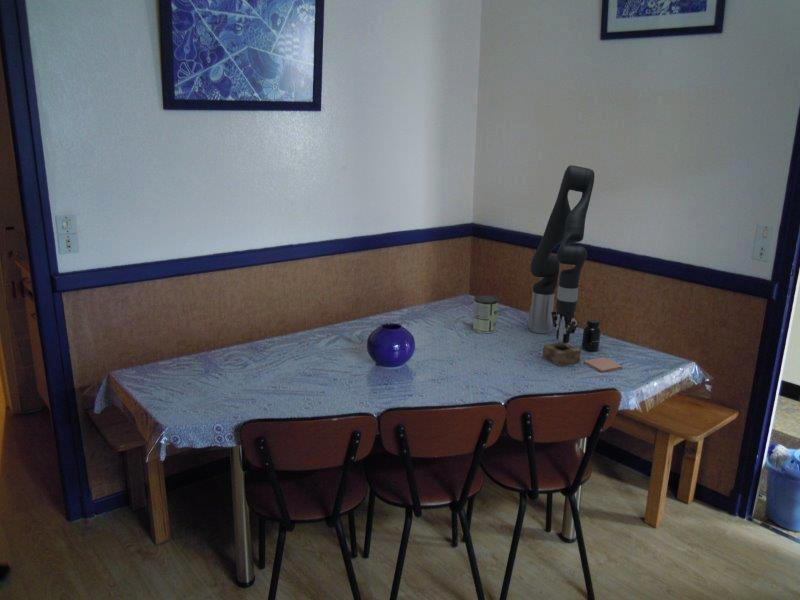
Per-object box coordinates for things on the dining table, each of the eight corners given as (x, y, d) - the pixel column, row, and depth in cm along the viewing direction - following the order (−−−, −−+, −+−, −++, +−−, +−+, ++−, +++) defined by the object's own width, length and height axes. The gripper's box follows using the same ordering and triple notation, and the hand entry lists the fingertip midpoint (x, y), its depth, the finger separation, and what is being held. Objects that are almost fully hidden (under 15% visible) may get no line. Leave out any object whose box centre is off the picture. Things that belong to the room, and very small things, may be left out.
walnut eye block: (542, 357, 268) (543, 345, 266) (562, 353, 272) (563, 341, 271) (558, 366, 259) (560, 354, 258) (579, 362, 264) (581, 350, 262)
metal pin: (554, 354, 266) (558, 316, 261) (561, 353, 267) (565, 315, 263) (559, 357, 263) (564, 319, 259) (566, 356, 265) (571, 318, 260)
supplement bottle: (594, 353, 274) (598, 324, 270) (578, 349, 278) (581, 321, 274) (601, 348, 279) (604, 320, 275) (585, 344, 283) (588, 316, 279)
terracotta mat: (583, 363, 263) (583, 360, 263) (603, 359, 268) (603, 357, 267) (601, 372, 255) (602, 370, 254) (622, 368, 259) (622, 366, 259)
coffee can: (474, 324, 303) (476, 293, 299) (497, 326, 301) (499, 295, 297) (470, 332, 293) (472, 300, 289) (495, 334, 291) (497, 302, 287)
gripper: (547, 293, 263) (542, 336, 268) (571, 304, 251) (566, 348, 256) (562, 291, 266) (558, 333, 271) (587, 302, 254) (582, 345, 259)
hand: (562, 340), depth 263 cm, fingers closed on metal pin, 3 cm apart
